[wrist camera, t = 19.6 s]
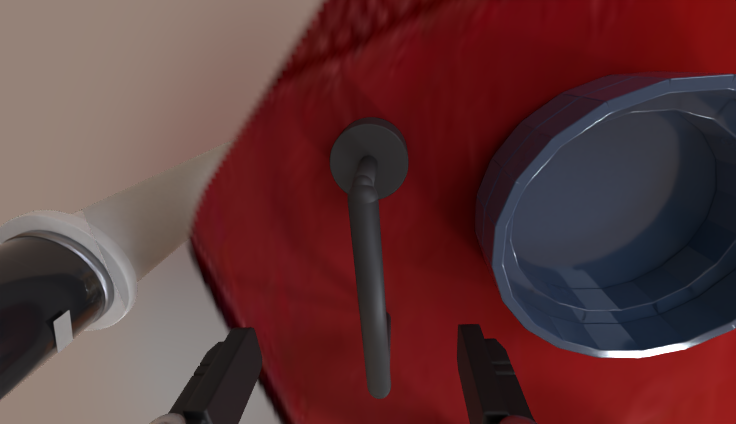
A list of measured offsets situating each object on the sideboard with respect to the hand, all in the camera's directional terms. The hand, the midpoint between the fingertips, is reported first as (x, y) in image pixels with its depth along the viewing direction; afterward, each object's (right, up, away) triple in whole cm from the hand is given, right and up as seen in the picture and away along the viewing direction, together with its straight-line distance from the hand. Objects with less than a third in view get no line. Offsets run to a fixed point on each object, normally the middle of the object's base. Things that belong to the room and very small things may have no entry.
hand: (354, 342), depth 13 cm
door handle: (+1, +4, +10) cm, 11 cm away
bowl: (+15, +6, +8) cm, 18 cm away
